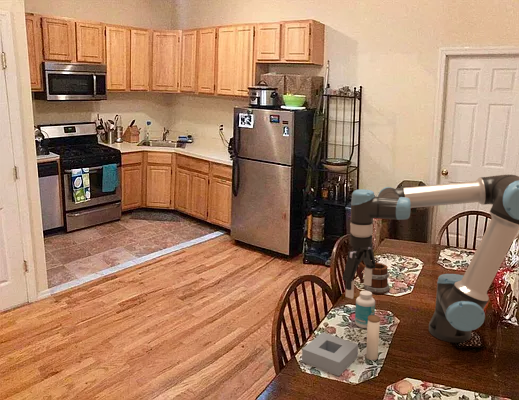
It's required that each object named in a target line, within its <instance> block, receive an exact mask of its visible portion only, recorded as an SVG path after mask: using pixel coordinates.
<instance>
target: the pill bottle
mask: <svg viewBox="0 0 519 400" xmlns="http://www.w3.org/2000/svg"><path fill="white" fill-rule="evenodd" d="M375 310H376V300H375V298H374V297H373V294H372V292H370V291H366V290H361V291H360V292H359V296H357V297H356V299H355V313H354V314H355V315H354V317H355V318H354V323H355V325H356V327H359V328H360V329H361V328H362V329H367V327H368V316H369V315H376V314H375V313H376V311H375Z"/></svg>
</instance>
